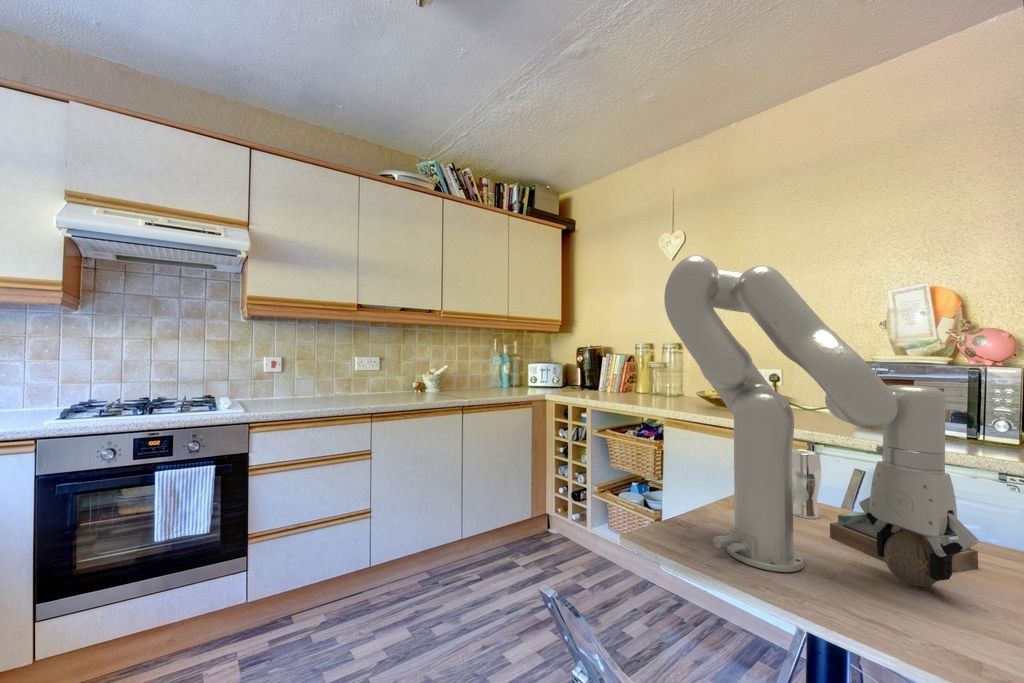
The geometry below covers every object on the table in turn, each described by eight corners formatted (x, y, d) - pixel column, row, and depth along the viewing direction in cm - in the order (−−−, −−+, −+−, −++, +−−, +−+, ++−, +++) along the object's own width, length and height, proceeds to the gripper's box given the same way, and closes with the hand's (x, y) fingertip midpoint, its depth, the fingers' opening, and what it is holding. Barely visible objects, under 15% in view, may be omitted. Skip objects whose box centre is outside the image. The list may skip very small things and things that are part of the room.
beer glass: (810, 509, 103) (809, 449, 104) (828, 520, 96) (827, 455, 97) (780, 508, 104) (780, 448, 105) (797, 518, 97) (796, 454, 98)
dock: (921, 576, 71) (920, 547, 72) (830, 537, 87) (829, 513, 87) (978, 568, 75) (977, 539, 75) (880, 531, 90) (880, 508, 90)
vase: (910, 570, 72) (911, 519, 73) (954, 592, 66) (954, 536, 66) (872, 569, 72) (873, 518, 72) (912, 592, 65) (913, 535, 66)
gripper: (842, 448, 77) (841, 545, 76) (964, 475, 60) (963, 599, 60) (873, 447, 79) (872, 542, 78) (999, 473, 62) (999, 594, 61)
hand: (911, 566), depth 69 cm, fingers closed on vase, 6 cm apart
